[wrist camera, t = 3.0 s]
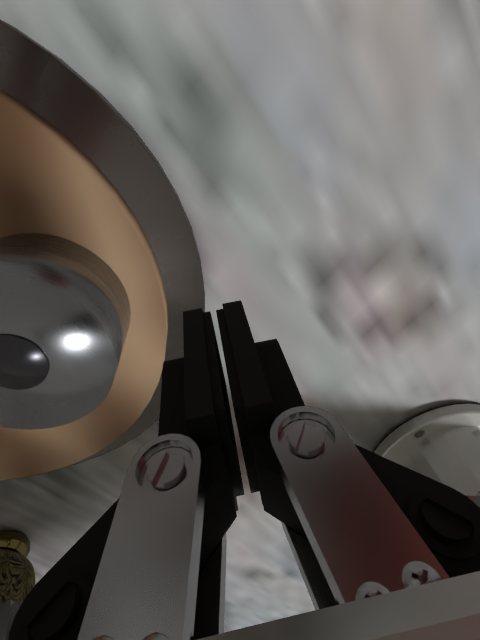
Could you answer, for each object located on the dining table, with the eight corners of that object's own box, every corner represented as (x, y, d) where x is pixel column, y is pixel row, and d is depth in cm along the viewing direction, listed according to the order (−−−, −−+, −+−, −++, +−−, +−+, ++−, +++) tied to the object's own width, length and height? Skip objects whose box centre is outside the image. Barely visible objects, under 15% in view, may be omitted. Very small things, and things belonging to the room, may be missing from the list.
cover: (101, 219, 14) (71, 254, 10) (148, 354, 18) (138, 413, 14) (-73, 249, 14) (-164, 295, 10) (11, 379, 17) (-34, 446, 14)
